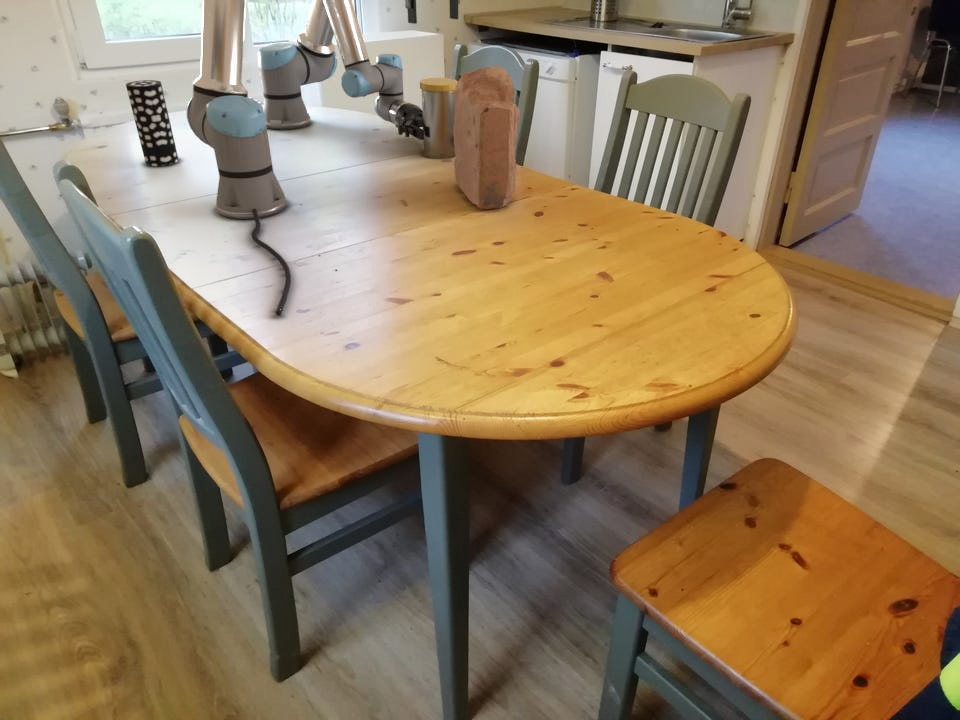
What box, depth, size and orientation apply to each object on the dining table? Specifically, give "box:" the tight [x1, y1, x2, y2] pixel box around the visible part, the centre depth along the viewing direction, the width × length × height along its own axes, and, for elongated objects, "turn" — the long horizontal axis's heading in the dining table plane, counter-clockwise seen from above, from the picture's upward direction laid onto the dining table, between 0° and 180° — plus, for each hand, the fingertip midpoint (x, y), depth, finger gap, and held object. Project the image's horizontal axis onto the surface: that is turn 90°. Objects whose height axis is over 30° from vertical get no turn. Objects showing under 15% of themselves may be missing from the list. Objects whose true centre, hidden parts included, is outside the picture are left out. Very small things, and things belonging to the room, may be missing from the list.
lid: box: [419, 77, 458, 92], centre depth 186 cm, size 10×10×2 cm
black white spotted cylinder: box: [125, 79, 179, 167], centre depth 181 cm, size 8×8×20 cm
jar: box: [421, 89, 456, 159], centre depth 191 cm, size 9×9×19 cm
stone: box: [453, 66, 520, 210], centre depth 159 cm, size 22×11×28 cm, turn 18°
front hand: (433, 21), depth 178 cm, fingers open, 13 cm apart
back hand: (444, 131), depth 192 cm, fingers open, 13 cm apart
